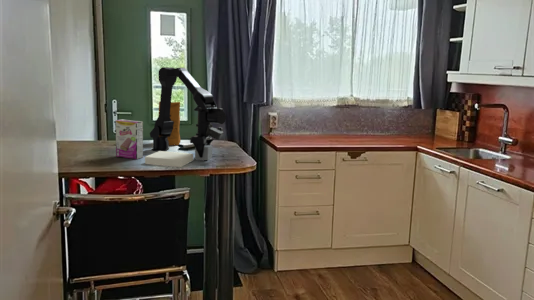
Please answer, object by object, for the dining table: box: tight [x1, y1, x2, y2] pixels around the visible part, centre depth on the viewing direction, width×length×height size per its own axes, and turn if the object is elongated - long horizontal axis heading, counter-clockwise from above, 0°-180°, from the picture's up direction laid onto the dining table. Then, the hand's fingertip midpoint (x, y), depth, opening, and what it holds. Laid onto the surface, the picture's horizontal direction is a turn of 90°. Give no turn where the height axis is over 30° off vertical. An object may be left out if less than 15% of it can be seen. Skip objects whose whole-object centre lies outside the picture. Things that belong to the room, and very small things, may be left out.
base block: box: [144, 150, 194, 168], centre depth 201 cm, size 16×14×3 cm
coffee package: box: [157, 100, 181, 147], centre depth 240 cm, size 10×12×22 cm
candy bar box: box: [114, 118, 144, 160], centre depth 206 cm, size 11×5×16 cm, turn 71°
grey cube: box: [194, 144, 213, 162], centre depth 210 cm, size 6×6×6 cm
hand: (203, 156), depth 210 cm, fingers closed on grey cube, 6 cm apart
